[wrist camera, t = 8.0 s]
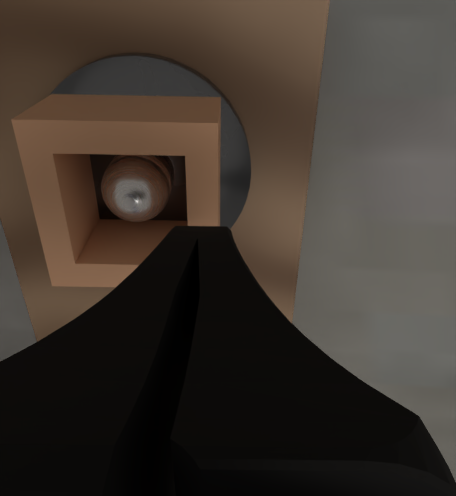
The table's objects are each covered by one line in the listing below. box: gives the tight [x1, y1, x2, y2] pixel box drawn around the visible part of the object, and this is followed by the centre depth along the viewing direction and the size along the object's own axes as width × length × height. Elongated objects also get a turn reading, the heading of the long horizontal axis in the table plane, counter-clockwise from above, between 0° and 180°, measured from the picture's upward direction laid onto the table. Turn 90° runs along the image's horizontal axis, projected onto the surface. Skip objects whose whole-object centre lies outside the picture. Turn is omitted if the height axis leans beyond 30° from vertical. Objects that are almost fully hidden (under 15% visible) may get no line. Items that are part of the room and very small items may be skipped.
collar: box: [11, 94, 221, 287], centre depth 14 cm, size 5×5×3 cm
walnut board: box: [0, 0, 330, 342], centre depth 19 cm, size 20×12×2 cm, turn 179°
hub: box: [50, 52, 251, 229], centre depth 15 cm, size 8×8×3 cm
